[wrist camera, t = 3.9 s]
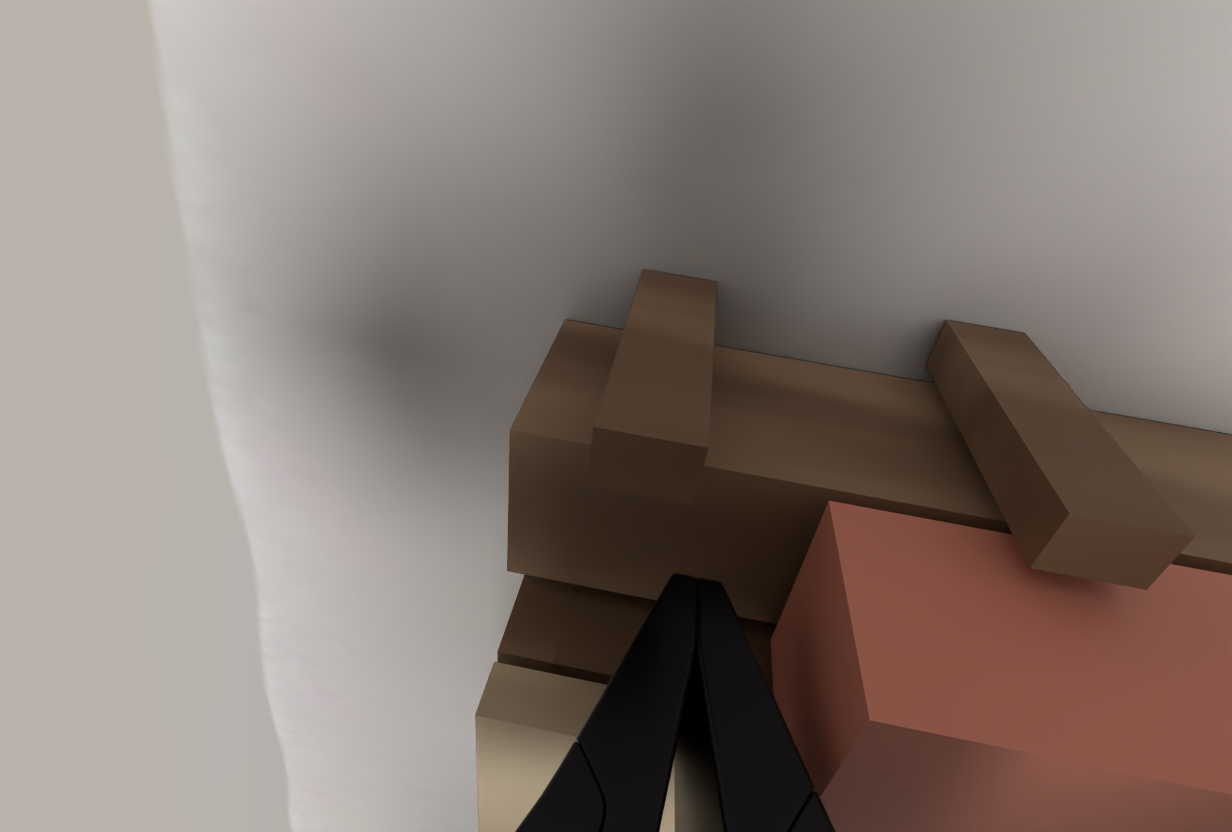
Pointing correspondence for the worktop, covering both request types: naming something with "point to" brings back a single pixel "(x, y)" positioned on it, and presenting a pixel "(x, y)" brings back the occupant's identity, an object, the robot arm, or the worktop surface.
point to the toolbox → (814, 472)
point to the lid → (530, 741)
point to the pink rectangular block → (1001, 686)
